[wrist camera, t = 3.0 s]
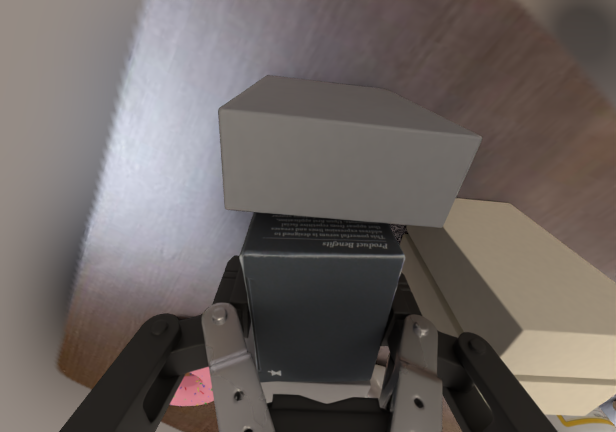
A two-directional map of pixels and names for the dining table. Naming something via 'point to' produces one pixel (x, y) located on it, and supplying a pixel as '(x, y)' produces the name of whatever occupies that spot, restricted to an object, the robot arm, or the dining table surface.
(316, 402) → the robot arm
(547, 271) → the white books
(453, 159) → the grey books
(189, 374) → the doughnut
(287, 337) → the box
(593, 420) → the pill bottle
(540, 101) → the dining table surface
